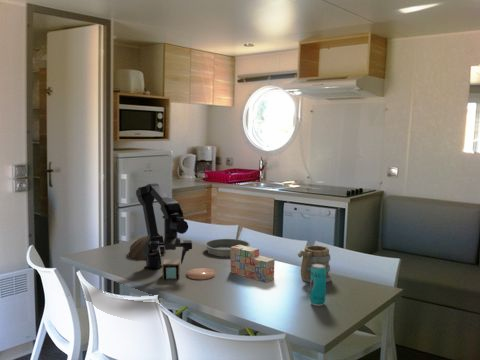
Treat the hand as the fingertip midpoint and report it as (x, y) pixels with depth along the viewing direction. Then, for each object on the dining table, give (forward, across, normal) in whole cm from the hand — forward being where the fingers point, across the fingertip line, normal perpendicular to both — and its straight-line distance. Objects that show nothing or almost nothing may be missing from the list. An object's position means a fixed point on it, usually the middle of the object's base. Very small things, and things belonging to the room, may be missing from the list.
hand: (171, 263), depth 209 cm
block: (+6, 0, 0) cm, 6 cm away
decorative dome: (+6, -14, +39) cm, 42 cm away
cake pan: (+6, +29, +42) cm, 51 cm away
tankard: (+6, +61, -10) cm, 63 cm away
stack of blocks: (+6, +36, -1) cm, 37 cm away
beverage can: (+6, +57, -38) cm, 68 cm away
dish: (+6, +13, +2) cm, 15 cm away
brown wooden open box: (+6, 0, 0) cm, 6 cm away
